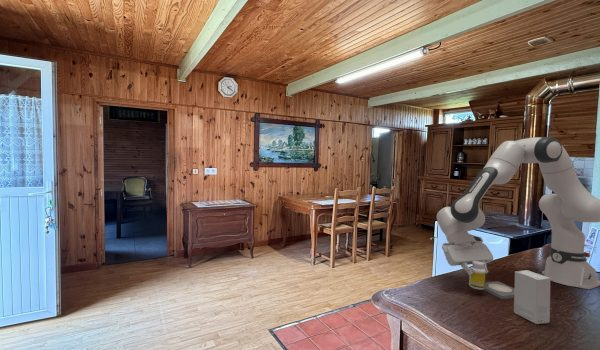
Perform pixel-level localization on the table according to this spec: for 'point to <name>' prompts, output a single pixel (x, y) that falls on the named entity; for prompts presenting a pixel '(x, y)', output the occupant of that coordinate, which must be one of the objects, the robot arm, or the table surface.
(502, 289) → the board
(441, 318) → the table surface
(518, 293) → the skincare box
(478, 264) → the supplement bottle
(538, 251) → the table surface
